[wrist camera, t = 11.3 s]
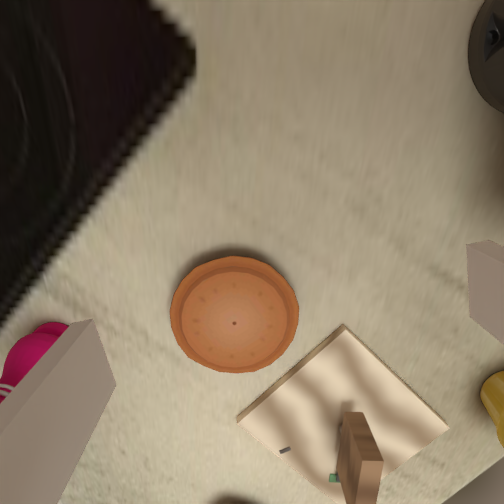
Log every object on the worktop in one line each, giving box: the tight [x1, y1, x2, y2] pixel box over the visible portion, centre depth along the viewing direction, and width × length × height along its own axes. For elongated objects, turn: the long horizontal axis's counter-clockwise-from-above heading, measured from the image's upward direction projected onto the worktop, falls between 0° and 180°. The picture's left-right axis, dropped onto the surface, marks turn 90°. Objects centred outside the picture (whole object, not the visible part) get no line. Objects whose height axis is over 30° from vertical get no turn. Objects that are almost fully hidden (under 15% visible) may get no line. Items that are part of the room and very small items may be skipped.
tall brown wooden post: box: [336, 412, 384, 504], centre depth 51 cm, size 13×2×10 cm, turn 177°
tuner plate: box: [237, 324, 449, 504], centre depth 56 cm, size 20×22×2 cm
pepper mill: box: [0, 322, 68, 404], centre depth 43 cm, size 7×7×20 cm
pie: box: [170, 256, 299, 373], centre depth 49 cm, size 16×16×5 cm
